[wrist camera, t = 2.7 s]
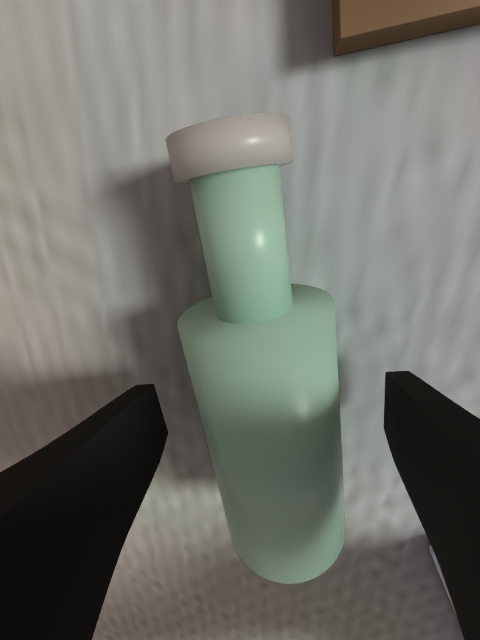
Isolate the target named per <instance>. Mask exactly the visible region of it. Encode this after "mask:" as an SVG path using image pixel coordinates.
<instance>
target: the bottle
mask: <svg viewBox="0 0 480 640" xmlns="http://www.w3.org/2000/svg"><path fill="white" fill-rule="evenodd" d="M166 145H167V149H168V154H169V158H170V163H171V168H172V172H173V177H174V181H175V183H186V182H189V185H190V190H191V195H192V200H193V205H194V210H195V215H196V219H197V224H198V229H199V234H200V239H201V244H202V249H203V254H204V259H205V264H206V269H207V274H208V279H209V284H210V289H211V294H212V297H209V298H207V299H204V300H202V301H200V302H198V303H196V304H194V305H193V306H191V307H190V308H188V309H187V310H186V311H185V312H184V313H182V315H181V316H180V317H179V319H178V322H177V327H178V331H179V335H180V339H181V343H182V347H183V351H184V355H185V359H186V363H187V366H188V370H189V374H190V378H191V382H192V386H193V390H194V394H195V398H196V402H197V405H198V409H199V413H200V417H201V421H202V425H203V429H204V433H205V437H206V441H207V445H208V448H209V452H210V456H211V460H212V464H213V468H214V472H215V476H216V480H217V484H218V487H219V491H220V495H221V499H222V503H223V507H224V511H225V515H226V519H227V523H228V526H229V530H230V534H231V538H232V542H233V545H234V547H235V550H236V552H237V554H238V555H239V557H240V558H241V560H242V561H243V562H244V564H245V565H246V566H247V567H248V568H249V569H251V570H252V571H253V572H255V573H256V574H257V575H259V576H261V577H263V578H265V579H267V580H270V581H273V582H277V583H283V584H296V583H302V582H306V581H309V580H311V579H314V578H316V577H318V576H319V575H321V574H323V573H324V572H325V571H326V570H327V569H329V568H330V567H331V566H332V564H333V563H334V562H335V561H336V559H337V557H338V556H339V554H340V552H341V550H342V547H343V544H344V540H345V532H346V528H345V506H344V485H343V464H342V444H341V423H340V402H339V381H338V360H337V339H336V318H335V301H334V299H333V297H332V296H331V295H330V294H329V293H327V292H326V291H324V290H321V289H319V288H316V287H311V286H306V285H299V284H291V278H290V268H289V259H288V249H287V239H286V229H285V219H284V209H283V199H282V189H281V179H280V170H279V166H283V165H286V164H289V163H292V162H293V154H292V142H291V131H290V119H289V116H288V115H285V114H281V113H254V114H245V115H237V116H231V117H225V118H220V119H215V120H211V121H207V122H203V123H199V124H195V125H192V126H189V127H186V128H183V129H181V130H178V131H176V132H174V133H172V134H170V135H169V136H168V137H167V138H166Z"/></svg>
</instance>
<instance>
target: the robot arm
mask: <svg viewBox="0 0 480 640" xmlns="http://www.w3.org/2000/svg"><path fill="white" fill-rule="evenodd" d="M384 430H385V434H386V437H387V440H388V444H389V447H390V450H391V453H392V457H393V460H394V462H395V465H396V467H397V469H398V472H399V474H400V476H401V479H402V481H403V483H404V485H405V488H406V490H407V492H408V494H409V497H410V499H411V501H412V503H413V506H414V508H415V510H416V512H417V515H418V517H419V519H420V521H421V523H422V526H423V528H424V530H425V532H426V535H427V537H428V539H429V541H430V544H431V545H430V546H429V550H430V553H431V556H432V558H433V560H434V563H435V565H436V568H437V570H438V572H439V575H440V577H441V580H442V582H443V584H444V587H445V589H446V592H447V594H448V596H449V599H450V601H451V604H452V606H453V608H454V611H455V613H456V616H457V618H458V621H459V624H460V627H461V630H462V633H463V636H464V639H465V640H480V419H479V418H477V417H476V416H474V415H473V414H471V413H470V412H468V411H467V410H465V409H464V408H462V407H461V406H459V405H458V404H456V403H455V402H453V401H452V400H450V399H449V398H447V397H446V396H444V395H443V394H441V393H440V392H439V391H437V390H436V389H434V388H433V387H431V386H430V385H429V384H427V383H426V382H424V381H423V380H421V379H420V378H418V377H417V376H415V375H414V374H412V373H411V372H409V371H397V372H386V377H385V407H384ZM167 436H168V430H167V427H166V423H165V420H164V417H163V413H162V410H161V407H160V403H159V400H158V397H157V393H156V390H155V386H154V384H146V385H136V386H134V387H132V388H131V389H129V390H128V391H126V392H124V393H123V394H121V395H120V396H118V397H117V398H116V399H114V400H113V401H111V402H110V403H108V404H107V405H106V406H104V407H103V408H101V409H100V410H98V411H97V412H95V413H94V414H93V415H91V416H90V417H88V418H87V419H85V420H84V421H83V422H81V423H80V424H78V425H77V426H75V427H74V428H72V429H71V430H69V431H68V432H66V433H65V434H63V435H61V436H60V437H58V438H57V439H55V440H54V441H52V442H51V443H49V444H48V445H46V446H45V447H43V448H41V449H40V450H38V451H37V452H35V453H33V454H32V455H30V456H28V457H27V458H25V459H23V460H21V461H20V462H18V463H16V464H14V465H12V466H11V467H9V468H7V469H5V470H4V471H2V472H0V640H92V637H93V634H94V630H95V627H96V624H97V621H98V618H99V615H100V612H101V608H102V605H103V602H104V599H105V596H106V593H107V590H108V587H109V584H110V581H111V578H112V575H113V572H114V569H115V566H116V564H117V561H118V558H119V555H120V552H121V549H122V547H123V544H124V542H125V539H126V537H127V534H128V532H129V530H130V528H131V525H132V523H133V521H134V519H135V517H136V514H137V512H138V510H139V508H140V505H141V503H142V501H143V499H144V497H145V494H146V492H147V490H148V488H149V485H150V483H151V481H152V479H153V476H154V474H155V472H156V469H157V467H158V465H159V462H160V459H161V456H162V453H163V450H164V446H165V443H166V439H167Z"/></svg>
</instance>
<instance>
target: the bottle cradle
mask: <svg viewBox="0 0 480 640" xmlns="http://www.w3.org/2000/svg"><path fill="white" fill-rule="evenodd" d="M332 7H333V44H334V56H338V55H342V54H346V53H351V52H355V51H360V50H364V49H369V48H373V47H378V46H382V45H386V44H391V43H395V42H400V41H404V40H409V39H413V38H417V37H422V36H426V35H431V34H435V33H440V32H444V31H449V30H453V29H457V28H462V27H466V26H471V25H475V24H480V0H332Z"/></svg>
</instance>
